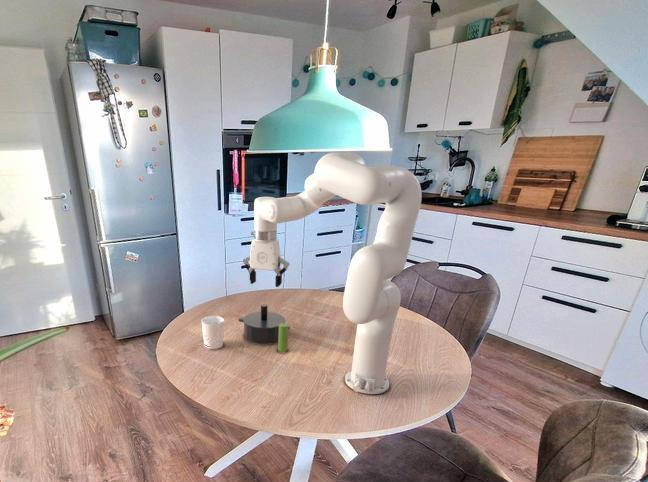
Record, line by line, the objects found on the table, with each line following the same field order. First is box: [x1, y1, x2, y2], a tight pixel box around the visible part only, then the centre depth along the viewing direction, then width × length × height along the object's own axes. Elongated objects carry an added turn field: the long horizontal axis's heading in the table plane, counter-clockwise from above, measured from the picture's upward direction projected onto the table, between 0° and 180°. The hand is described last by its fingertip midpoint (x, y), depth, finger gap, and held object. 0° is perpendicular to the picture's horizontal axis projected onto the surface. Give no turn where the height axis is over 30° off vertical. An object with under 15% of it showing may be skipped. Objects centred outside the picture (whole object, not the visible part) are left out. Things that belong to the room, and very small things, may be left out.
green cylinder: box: [277, 322, 289, 353], centre depth 133 cm, size 3×3×10 cm
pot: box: [238, 316, 291, 345], centre depth 145 cm, size 15×20×6 cm
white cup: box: [200, 315, 225, 350], centre depth 137 cm, size 8×8×10 cm
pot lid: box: [242, 303, 286, 329], centre depth 142 cm, size 16×16×7 cm
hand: (265, 284), depth 137 cm, fingers open, 9 cm apart
